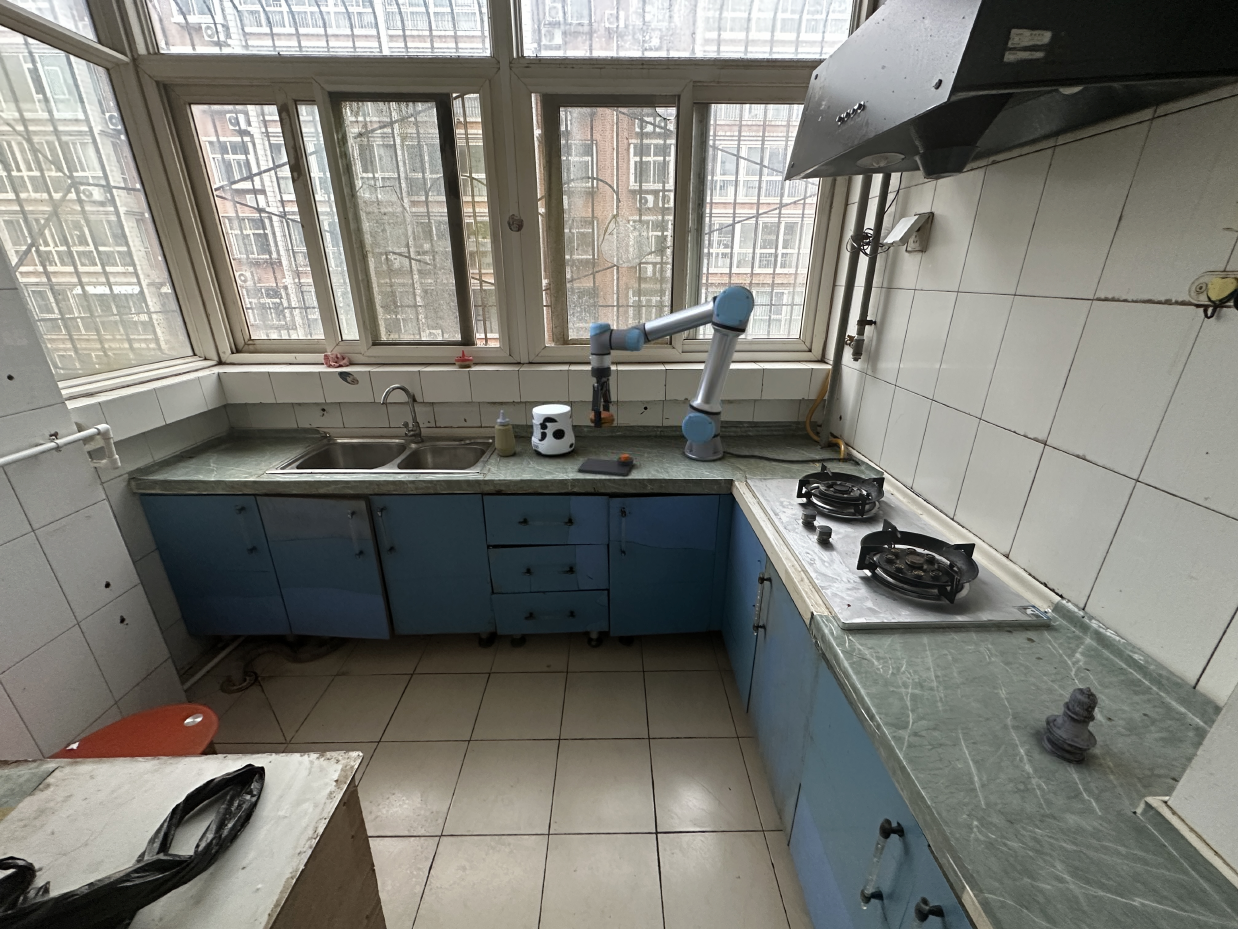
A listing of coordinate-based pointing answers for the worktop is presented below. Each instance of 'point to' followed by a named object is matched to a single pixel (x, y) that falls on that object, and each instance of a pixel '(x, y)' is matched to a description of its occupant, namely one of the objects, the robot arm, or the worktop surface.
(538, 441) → the milk container
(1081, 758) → the dark grey chess piece
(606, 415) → the burger
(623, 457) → the tare button
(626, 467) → the scale
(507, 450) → the squeeze bottle
